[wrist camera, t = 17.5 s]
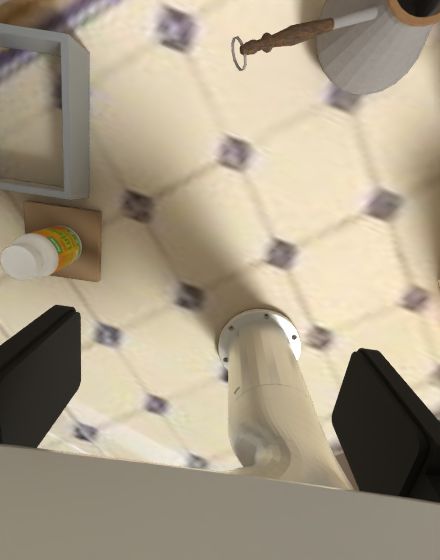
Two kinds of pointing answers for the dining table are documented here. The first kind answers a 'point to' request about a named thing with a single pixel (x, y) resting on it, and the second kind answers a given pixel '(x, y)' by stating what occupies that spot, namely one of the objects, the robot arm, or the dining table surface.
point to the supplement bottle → (41, 253)
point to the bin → (72, 108)
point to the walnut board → (81, 224)
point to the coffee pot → (360, 40)
